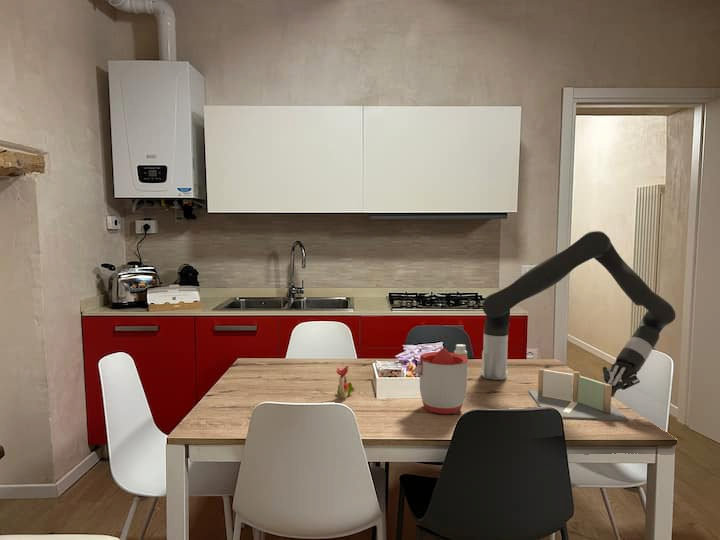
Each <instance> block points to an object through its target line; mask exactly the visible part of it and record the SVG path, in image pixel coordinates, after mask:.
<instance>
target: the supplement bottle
mask: <svg viewBox="0 0 720 540" xmlns="http://www.w3.org/2000/svg"><path fill="white" fill-rule="evenodd" d="M453 353H456V354H461V355H464V356H466V357H467V358H468V351H467V350H466V344H462V343H461V344H460V343H459V344H458V343H457V344H455V349H454V350H453Z"/></svg>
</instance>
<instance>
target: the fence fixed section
mask: <svg viewBox="0 0 720 540" xmlns="http://www.w3.org/2000/svg"><path fill="white" fill-rule="evenodd" d="M537 375H538V377H537V378H538V379H537V391H538V395H543V396H548V397H553V398H559V399H564V400H569V401H571V400H572V401H573V402H578V380H579V376H581V372H580V371H577V370H576V371H573V373H569V372H561V371H556V370H555V371H554V370H549V369H544V368H538V374H537ZM572 392H573V396H572Z"/></svg>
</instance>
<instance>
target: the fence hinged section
mask: <svg viewBox="0 0 720 540" xmlns="http://www.w3.org/2000/svg"><path fill="white" fill-rule="evenodd" d="M611 393H612V385H610V384H607V383H606V382H601V381H600V380H595V379H592V378H590V377H589V378H588V377H585V376H583V375H580V376H579V380H578V402H579V403H582V404H585V405H587V406H590V407H593V408H596V409H598V410H601V411H604V412H605V413H611V404H612V397H611Z"/></svg>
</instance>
